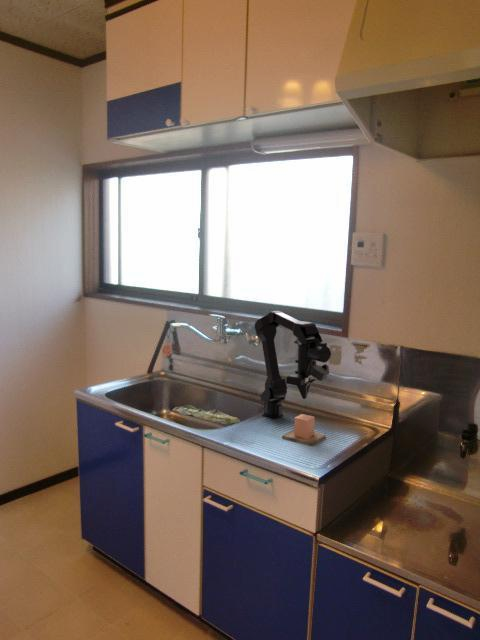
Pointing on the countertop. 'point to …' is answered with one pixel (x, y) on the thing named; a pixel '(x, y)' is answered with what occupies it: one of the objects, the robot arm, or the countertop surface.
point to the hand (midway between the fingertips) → (304, 398)
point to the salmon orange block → (304, 426)
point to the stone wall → (207, 414)
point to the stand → (309, 441)
